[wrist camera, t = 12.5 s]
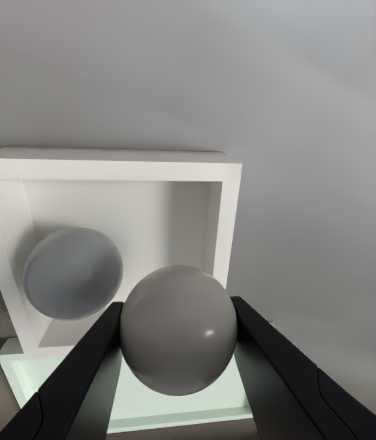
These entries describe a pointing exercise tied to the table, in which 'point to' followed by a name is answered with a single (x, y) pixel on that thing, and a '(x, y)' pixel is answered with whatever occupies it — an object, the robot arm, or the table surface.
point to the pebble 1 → (72, 274)
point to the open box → (112, 220)
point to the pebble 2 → (178, 330)
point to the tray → (136, 394)
